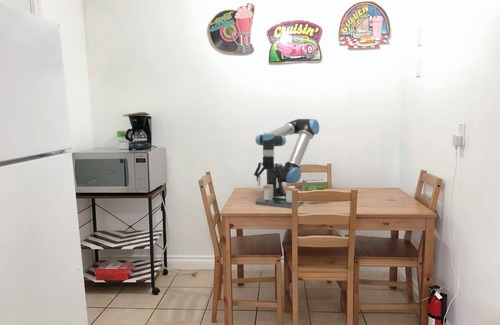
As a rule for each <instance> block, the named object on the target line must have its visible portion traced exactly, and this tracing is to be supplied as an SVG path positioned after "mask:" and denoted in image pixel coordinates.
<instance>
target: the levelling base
mask: <svg viewBox="0 0 500 325" xmlns="http://www.w3.org/2000/svg"><path fill="white" fill-rule="evenodd" d="M302 203H303V204H304V201H303V202H298V207H297V208H299V207H300V206H301V205H303V204H302ZM255 205H259V206H268V207H274V208H287V209H293V208H292V203H288V202H286V196H284V195H282V196H276V197H275V196H273V198H272V200H271V201H266V200H265V199H264V196H263V197H262V198H259V199H258V200H256V201H255Z"/></svg>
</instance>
